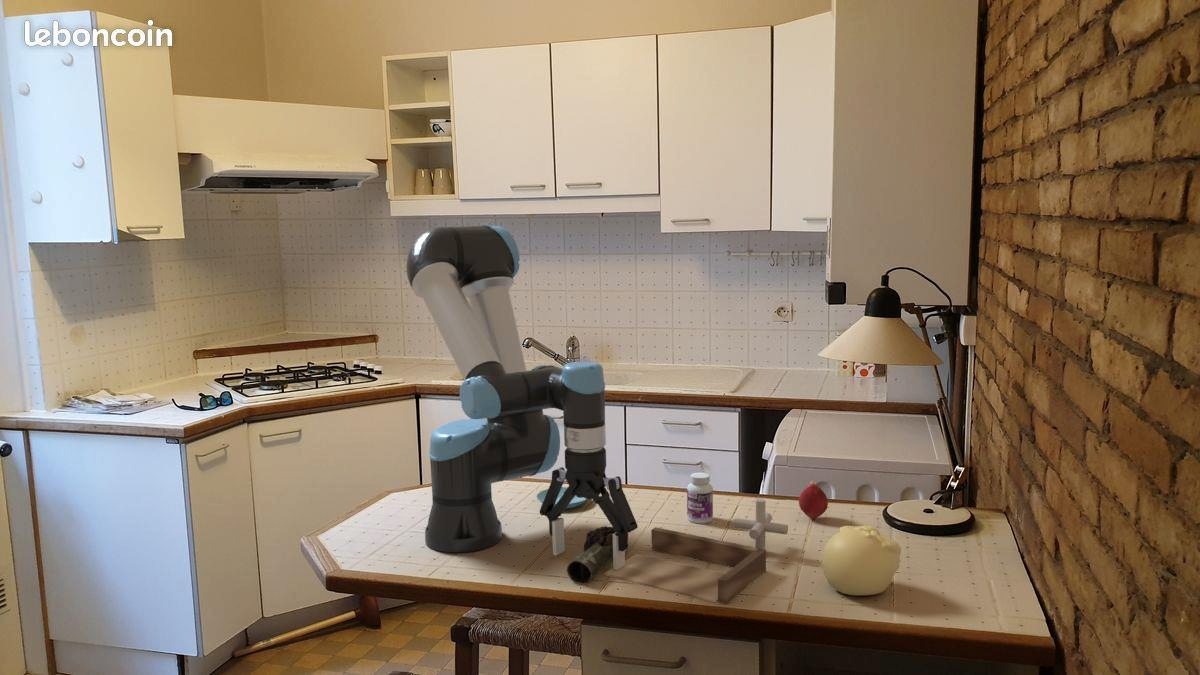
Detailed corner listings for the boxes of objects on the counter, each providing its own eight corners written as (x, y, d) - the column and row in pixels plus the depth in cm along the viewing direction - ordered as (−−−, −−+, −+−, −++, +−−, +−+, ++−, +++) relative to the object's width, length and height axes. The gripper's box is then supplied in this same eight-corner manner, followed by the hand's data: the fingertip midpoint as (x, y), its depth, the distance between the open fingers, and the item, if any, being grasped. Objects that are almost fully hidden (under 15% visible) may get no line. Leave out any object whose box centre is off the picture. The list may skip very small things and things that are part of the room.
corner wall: (609, 575, 159) (609, 554, 159) (655, 547, 172) (655, 527, 172) (726, 604, 147) (726, 581, 146) (766, 571, 160) (766, 549, 159)
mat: (604, 575, 160) (604, 573, 159) (636, 555, 169) (636, 553, 169) (715, 602, 147) (715, 601, 147) (744, 579, 156) (744, 577, 156)
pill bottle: (685, 523, 185) (685, 478, 184) (688, 514, 190) (688, 470, 189) (711, 524, 184) (711, 479, 183) (714, 516, 189) (714, 471, 188)
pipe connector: (792, 546, 171) (793, 495, 170) (780, 564, 162) (780, 511, 161) (741, 539, 176) (742, 489, 174) (726, 557, 167) (726, 505, 165)
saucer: (597, 499, 203) (597, 489, 203) (577, 515, 192) (577, 505, 192) (550, 494, 207) (550, 484, 207) (527, 510, 196) (527, 500, 196)
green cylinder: (591, 587, 155) (590, 556, 155) (557, 581, 158) (556, 551, 157) (632, 551, 171) (631, 522, 170) (600, 546, 174) (599, 518, 173)
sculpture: (910, 591, 150) (911, 529, 149) (860, 610, 144) (862, 545, 142) (856, 569, 160) (857, 511, 158) (808, 586, 153) (808, 525, 152)
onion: (831, 517, 187) (831, 480, 186) (822, 525, 182) (822, 487, 181) (804, 513, 190) (804, 476, 189) (794, 521, 185) (794, 483, 184)
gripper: (518, 443, 167) (522, 553, 169) (632, 461, 153) (635, 580, 156) (543, 435, 173) (547, 541, 176) (654, 451, 159) (657, 566, 162)
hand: (588, 560), depth 166 cm, fingers open, 13 cm apart
